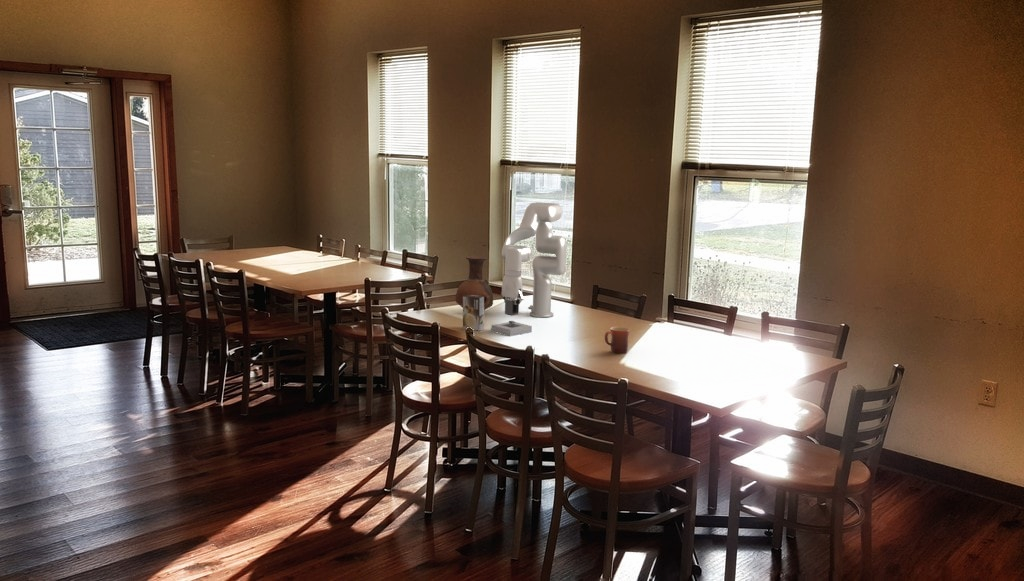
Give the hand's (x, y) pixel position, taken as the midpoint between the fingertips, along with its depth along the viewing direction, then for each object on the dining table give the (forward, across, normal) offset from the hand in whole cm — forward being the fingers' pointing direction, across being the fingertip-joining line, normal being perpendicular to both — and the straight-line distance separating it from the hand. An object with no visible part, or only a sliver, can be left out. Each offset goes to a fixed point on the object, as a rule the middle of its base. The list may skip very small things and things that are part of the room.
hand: (511, 311), depth 375 cm
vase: (+10, -43, +14) cm, 46 cm away
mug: (+10, +56, +9) cm, 58 cm away
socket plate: (+10, 0, 0) cm, 10 cm away
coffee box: (+10, -16, -10) cm, 21 cm away
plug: (+1, 0, 0) cm, 1 cm away
